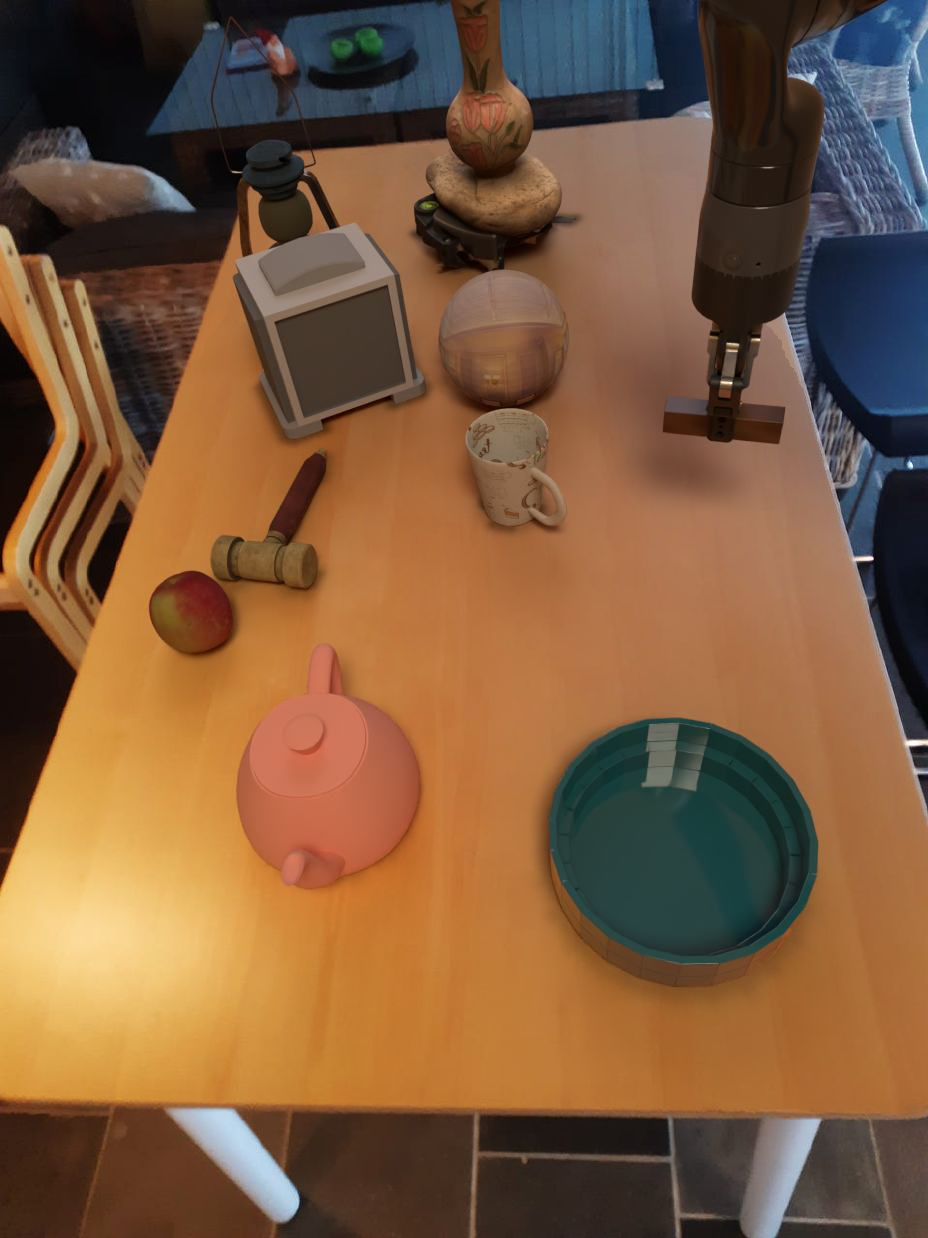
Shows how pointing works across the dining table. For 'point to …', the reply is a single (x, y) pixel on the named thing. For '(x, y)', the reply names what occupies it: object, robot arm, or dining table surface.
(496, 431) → the mug
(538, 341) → the ornament
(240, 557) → the gavel
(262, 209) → the lantern
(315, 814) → the teapot
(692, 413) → the stick
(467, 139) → the vase
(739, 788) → the bowl
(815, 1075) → the dining table surface
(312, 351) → the alarm clock
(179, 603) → the apple
